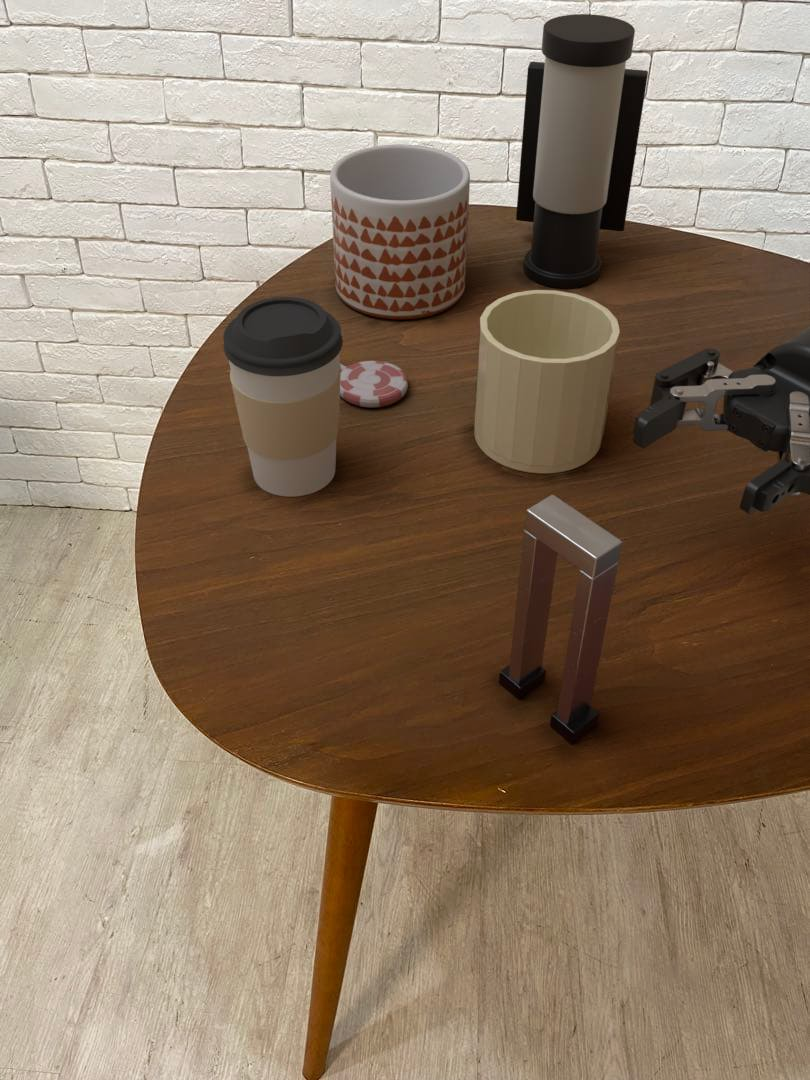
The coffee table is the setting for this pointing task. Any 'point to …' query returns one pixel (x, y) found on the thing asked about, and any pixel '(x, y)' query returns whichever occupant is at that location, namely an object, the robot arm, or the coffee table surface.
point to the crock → (544, 379)
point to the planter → (400, 230)
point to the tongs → (597, 558)
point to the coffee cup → (287, 391)
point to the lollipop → (372, 383)
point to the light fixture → (578, 145)
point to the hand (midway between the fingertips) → (690, 466)
